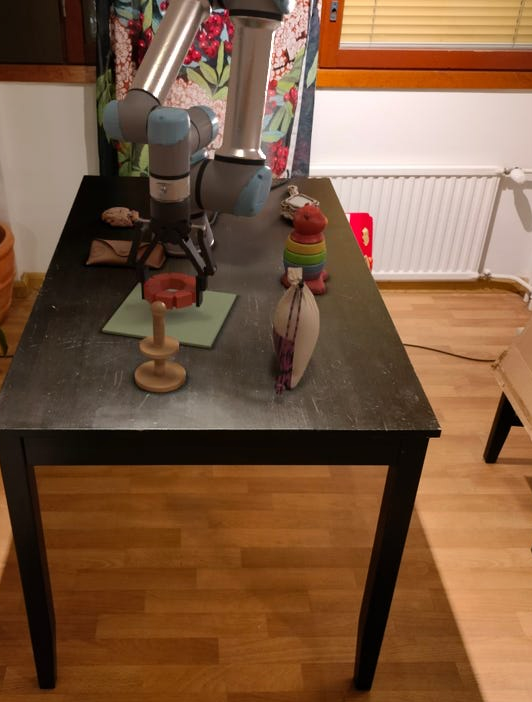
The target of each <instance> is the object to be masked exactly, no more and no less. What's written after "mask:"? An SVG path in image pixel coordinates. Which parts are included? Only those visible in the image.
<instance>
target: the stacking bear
mask: <svg viewBox="0 0 532 702" xmlns="http://www.w3.org/2000/svg"><path fill="white" fill-rule="evenodd" d="M292 224H293V225H292V226H293V230H292V231H291V232H290V234H288V236H287V238H286V241H285V245H284V248H283V252H282V262H283V263H282V264H283V268H284V273H283V275H282V278H281V281H282V284H283V285H284V286H285V287H287V288H288V289H289V288H290V287H291V284H290V283H289V282H288V276H287V272H288V268H289V267H291V268H302V280H304V281H305V283H306V286H307V287H308V289H309V290H310V291H311V293H312V294H313V295H320V294H324V293H325V292H326V290H327V287H326V284H325V282H324V281H326V280H328V272H327V270H325V269H324V267H325V264H326V260H327V248H326V240H325V235H324V233H323V231H324V230H325V229H327V226H328V224H329V220H328V218H327V217H326V216H325V215H324V213H322V211H321V209H320V207H319V208H318V207H316V206H312V205H309V202H307V203H306V204H305V205H304V206H302V207H300V208H299V209H297V211H296V212H295V213H294V216H293V220H292Z"/></svg>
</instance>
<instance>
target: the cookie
mask: <svg viewBox="0 0 532 702" xmlns="http://www.w3.org/2000/svg"><path fill="white" fill-rule="evenodd" d="M139 218H140V216H139V211H136V210H130V209H129V208H127V207H111V208H108V209H107V210H104V212H103V213H102V214H101V220H102V221H103V222H105V223H107V224H110V226H112V227H122V228H123V227H128V228H129V227H133V226H135V222H136V221H137V220H138V219H139Z"/></svg>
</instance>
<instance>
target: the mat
mask: <svg viewBox="0 0 532 702" xmlns="http://www.w3.org/2000/svg"><path fill="white" fill-rule="evenodd" d="M166 291H171V292H174V291H178V290H174V289H169V290H166ZM236 298H237V294H235V293H229V292H228V293H227V292H220V291H215V290H214V291H213V290H206V291H205V292H204V291H203V302H202V304H201V305H200V307H196V303H192V305H191V306H188V307H184V308H180V309H176V308H175V307H173V309H172V310H171V309H166V312H165V314H164V321H165V335H168V336H171V337H173V338H175V339H176V340H177V341H178V343H179V345H184V346H189V347H198V348H204V349H211V348H212V345H213V344H214V342H215V340H216V338H217V335H218V333H219V332H220V330H221V328H222V326H223V324H224V322H225V320H226V318H227V315H228V314H229V312H230V310H231V308H232V306H233V304H234V302H235V300H236ZM150 309H151V304H150V303H149V302H147V301H146V300H142V293H141V283H138V282H137V284H136V286H135V287H134V288H133V289H132V291H131V292H130V293H129V294H128V296H127V297H126V298H125V299H124V300H123V302H122V303H121V305H119V307H118V308H117V309H116V311H115V312H114V314H113V315H112V316H111V318H110V319H109V320H108V321H107V322H106V324H105V325H104V327H102V329H101V332H102V333H104V334H112V335H119V336H124V337H131V338H138V339H145V338H146V337H149V336H152V335H153V316H152V313H151V310H150Z"/></svg>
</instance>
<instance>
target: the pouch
mask: <svg viewBox="0 0 532 702" xmlns="http://www.w3.org/2000/svg"><path fill="white" fill-rule="evenodd" d="M287 276H288V282H289V283H290V284H291V287H290V288H289V287H288V289H287V290H286V291H285V293H284V294H283V295H282V297H281V298H280V300H279V301H278V303H277V305H276V308H275V310H274V314H273V319H272V339H273V344H274V350H275V353H276V354H275V355H276V359H277V363H278V367H279V372H278V373H279V374H278V381H277V383H276V384H274V390H275V395H276V396H278V395H279V396H282V395H283V392H284V391H286V387H287V388H288V389H290V390H291V389H294V388H295V387H297V385H298V384H299V382H300V380H301V379H302V377H303V375H304V373H305V371H306V369H307V366H308V365H309V362H310V361H311V358H312V356H313V353H314V350H315V348H316V345H317V341H318V339H319V338H318V337H319V334H320V328H321V327H320V310H319V308H318V304H317V301H316V299H315V296H314V294H312V293H311V291H310V290H309V289H308V287H307V286H306V283H305V281H304V280H302V268H291V267H289V268H288V272H287Z"/></svg>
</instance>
